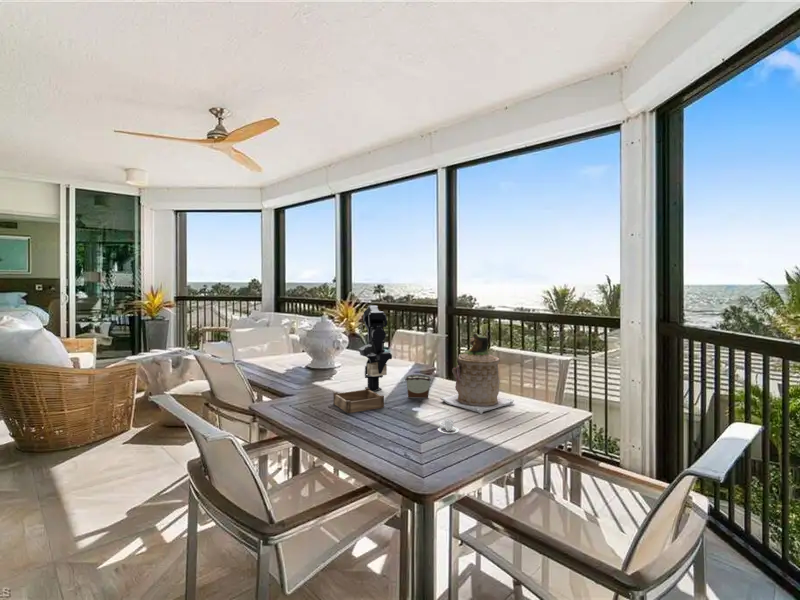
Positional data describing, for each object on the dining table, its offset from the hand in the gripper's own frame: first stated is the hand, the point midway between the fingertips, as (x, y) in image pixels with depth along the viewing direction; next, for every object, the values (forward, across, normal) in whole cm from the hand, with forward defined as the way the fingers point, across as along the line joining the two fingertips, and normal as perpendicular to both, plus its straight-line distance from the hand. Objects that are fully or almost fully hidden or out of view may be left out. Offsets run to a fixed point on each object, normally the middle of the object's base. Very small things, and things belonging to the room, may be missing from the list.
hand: (376, 372), depth 205 cm
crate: (+12, +6, -12) cm, 18 cm away
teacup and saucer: (+13, +49, +6) cm, 51 cm away
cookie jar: (+13, +29, +36) cm, 47 cm away
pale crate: (+1, 0, 0) cm, 1 cm away
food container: (+12, +6, +19) cm, 23 cm away
